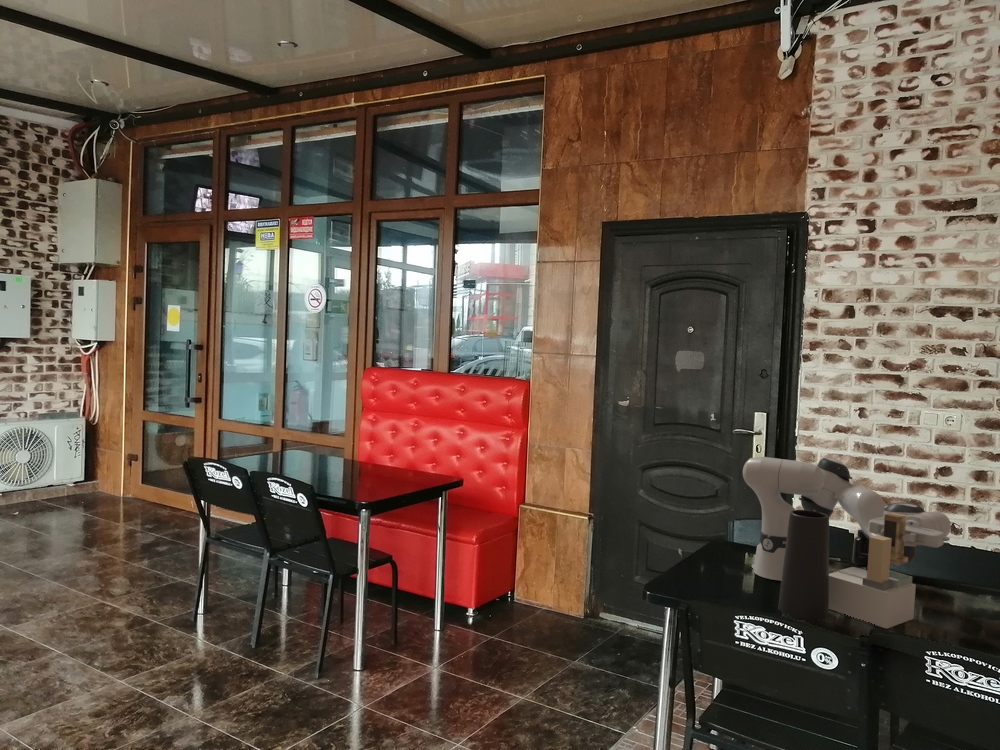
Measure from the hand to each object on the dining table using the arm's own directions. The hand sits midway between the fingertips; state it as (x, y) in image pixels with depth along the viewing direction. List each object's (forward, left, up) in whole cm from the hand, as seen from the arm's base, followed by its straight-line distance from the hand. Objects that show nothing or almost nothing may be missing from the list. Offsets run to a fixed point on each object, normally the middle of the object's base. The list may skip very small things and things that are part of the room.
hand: (892, 536), depth 231 cm
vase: (+18, -15, -24) cm, 34 cm away
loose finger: (-1, 0, -7) cm, 8 cm away
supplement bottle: (-47, -33, -24) cm, 62 cm away
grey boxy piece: (+2, -5, -24) cm, 24 cm away
